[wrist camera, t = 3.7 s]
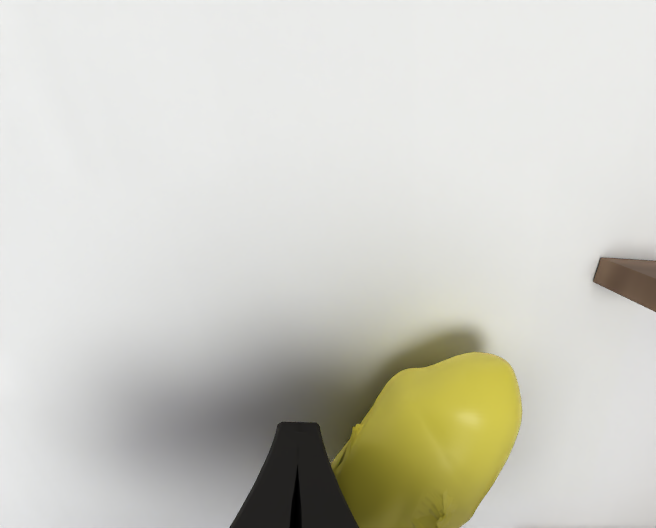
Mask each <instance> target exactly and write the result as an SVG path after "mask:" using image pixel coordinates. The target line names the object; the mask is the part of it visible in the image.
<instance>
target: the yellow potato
mask: <svg viewBox="0 0 656 528" xmlns="http://www.w3.org/2000/svg"><path fill="white" fill-rule="evenodd" d="M521 419H522V404H521V396H520V391H519V386H518V382H517V379H516V376H515V373H514V371H513V369H512V367H511V365H510V364H509V363H508V362H507V361H506V360H504V359H503V358H501V357H499V356H496V355H493V354H489V353H482V352H470V353H464V354H460V355H457V356H454V357H451V358H449V359H446V360H444V361H441V362H439V363H436V364H434V365H431V366H427V367H423V368H408V369H404V370H402V371H400V372H398V373H397V374H396V375H394V376H393V377H392V378H391V379H390V380H389V381H388V382H387V384H386V385H385V386H384V388H383V389H382V391H381V392H380V394H379V395H378V397H377V399H376V400H375V402H374V404H373V406H372V408H371V409H370V410H369V412H368V413H367V415H366V416H365V417H364V419H363V420H362V422H361V423H360V424H356V425H355V427H354V426H353V427H352V434H351V437H350V439H349V441H348V442H347V443H346V444H345V446H344V447H343V448H342V450H341V451H340V452H339V453H338V455H337V456H336V457H335V459H334V460H333V462H332V464H331V467H332V470H333V472H334V475H335V477H336V479H337V482H338V484H339V487H340V489H341V491H342V493H343V496H344V498H345V500H346V502H347V504H348V506H349V508H350V510H351V512H352V514H353V516H354V518H355V520H356V522H357V524H358V526H359V528H459V527H461V526H462V525H464V524H465V523H466V522H467V521H469V520H470V518H471V517H472V516H473V514H474V512H475V510H476V509H477V507H478V505H479V504H480V502H481V501H482V499H483V498H484V497H485V495H486V494H487V492H488V491H489V490H490V488H491V487H492V485H493V483H494V482H495V480H496V478H497V477H498V475H499V473H500V471H501V470H502V468H503V466H504V464H505V463H506V461H507V459H508V457H509V454H510V452H511V450H512V448H513V445H514V443H515V440H516V437H517V435H518V432H519V429H520V425H521Z"/></svg>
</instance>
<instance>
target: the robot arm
mask: <svg viewBox="0 0 656 528" xmlns="http://www.w3.org/2000/svg"><path fill="white" fill-rule="evenodd" d="M230 528H359V526H358V524H357V522H356V520H355V518H354V516H353V514H352V512H351V510H350V508H349V506H348V504H347V502H346V500H345V498H344V496H343V493H342V491H341V489H340V487H339V484H338V482H337V479H336V477H335V475H334V472H333V470H332V467H331V465H330V462H329V459H328V456H327V453H326V450H325V447H324V444H323V440H322V436H321V432H320V426H319V425H318V424H317V423H306V422H281V423H279V424H278V426H277V430H276V434H275V437H274V440H273V443H272V446H271V448H270V451H269V453H268V456H267V458H266V460H265V462H264V465H263V467H262V469H261V471H260V473H259V475H258V477H257V479H256V481H255V483H254V485H253V487H252V489H251V491H250V493H249V495H248V496H247V498H246V500H245V502H244V504H243V506H242V507H241V509H240V511H239V513H238V514H237V516H236V518H235V519H234V521H233V523H232V524H231V526H230Z"/></svg>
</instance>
